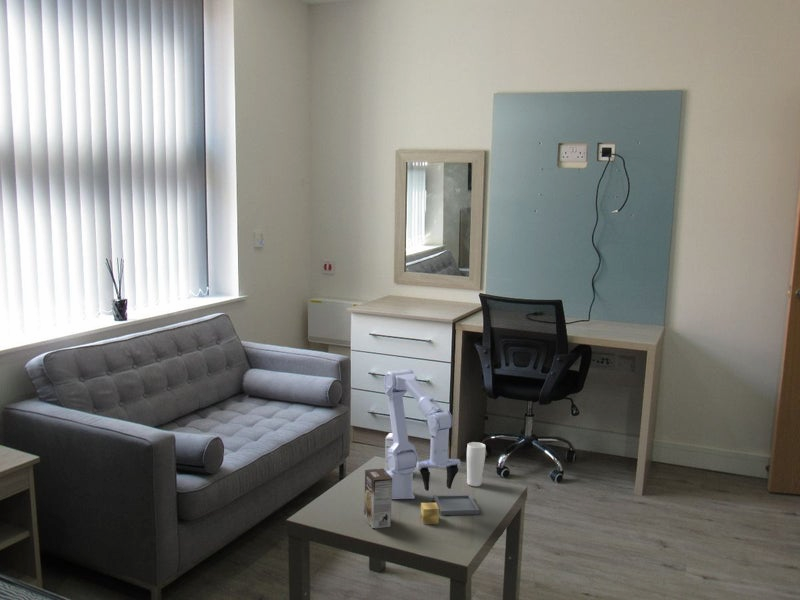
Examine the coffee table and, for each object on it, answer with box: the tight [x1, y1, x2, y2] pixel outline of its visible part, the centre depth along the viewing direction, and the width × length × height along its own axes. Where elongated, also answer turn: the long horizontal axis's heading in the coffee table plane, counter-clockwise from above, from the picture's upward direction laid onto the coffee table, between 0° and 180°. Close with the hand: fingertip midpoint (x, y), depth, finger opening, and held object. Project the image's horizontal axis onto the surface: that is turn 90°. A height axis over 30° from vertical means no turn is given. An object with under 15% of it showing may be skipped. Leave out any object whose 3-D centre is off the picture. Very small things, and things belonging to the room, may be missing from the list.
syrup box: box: [384, 432, 404, 471], centre depth 271 cm, size 6×6×14 cm
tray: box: [433, 493, 481, 516], centre depth 242 cm, size 13×13×2 cm
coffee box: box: [363, 468, 393, 529], centre depth 228 cm, size 9×6×16 cm
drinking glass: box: [466, 441, 487, 488], centre depth 262 cm, size 7×7×15 cm
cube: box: [420, 502, 440, 525], centre depth 231 cm, size 5×5×5 cm
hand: (437, 488), depth 233 cm, fingers open, 7 cm apart
